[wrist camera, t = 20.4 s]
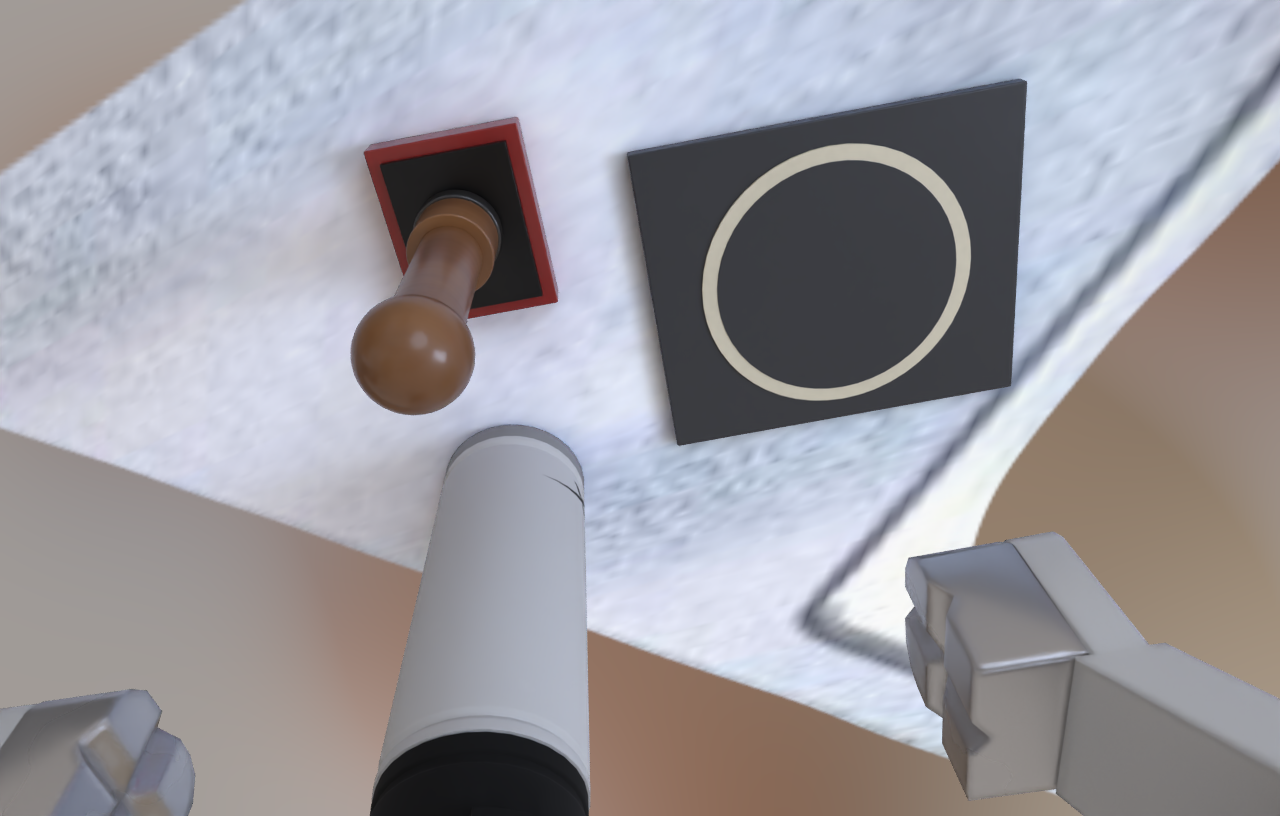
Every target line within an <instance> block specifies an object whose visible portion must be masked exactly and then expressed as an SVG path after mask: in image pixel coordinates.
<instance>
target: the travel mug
mask: <svg viewBox="0 0 1280 816" xmlns="http://www.w3.org/2000/svg"><path fill="white" fill-rule="evenodd" d="M589 757H590V756H589V710H588V660H587V611H586V563H585V514H584V477H583V473H582V468H581V466H580V464H579V462H578V459H577V457H576V456H575V455H574V453H573V452H572V451H571V449H570V448H569V447H568V446H567V445H566V444H564V443H563V442H562V441H561V440H560V439H559V438H557V437H555V436H553V435H551V434H550V433H548V432H546V431H543V430H540V429H537V428H534V427H529V426H523V425H503V426H498V427H492V428H489V429H486V430H484V431H481V432H479V433H477V434H475V435H474V436H472V437H470V438H468V439H467V440H466V441H465V442H464V443H463V444H462V445H461V446H459V447H458V449H457V450H456V452H455V453H454V454H453V456H452V457H451V460H450V462H449V464H448V467H447V471H446V475H445V479H444V484H443V488H442V492H441V497H440V501H439V505H438V510H437V514H436V518H435V523H434V527H433V531H432V535H431V540H430V544H429V548H428V553H427V557H426V561H425V566H424V570H423V574H422V579H421V584H420V588H419V592H418V596H417V600H416V605H415V609H414V613H413V618H412V622H411V626H410V631H409V635H408V639H407V644H406V648H405V653H404V657H403V661H402V665H401V670H400V674H399V678H398V683H397V687H396V691H395V696H394V700H393V705H392V709H391V713H390V717H389V722H388V726H387V730H386V735H385V739H384V743H383V748H382V752H381V756H380V760H379V768H378V773H377V775H376V778H375V782H374V787H373V794H372V804H371V811H370V816H589V808H590V758H589Z"/></svg>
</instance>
